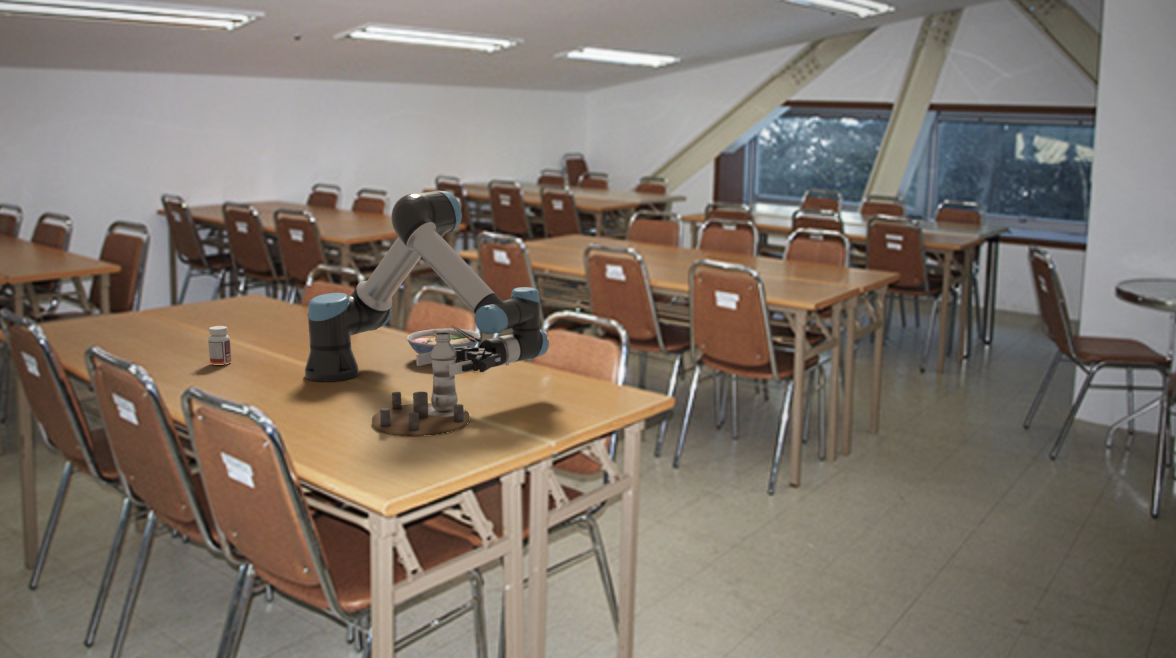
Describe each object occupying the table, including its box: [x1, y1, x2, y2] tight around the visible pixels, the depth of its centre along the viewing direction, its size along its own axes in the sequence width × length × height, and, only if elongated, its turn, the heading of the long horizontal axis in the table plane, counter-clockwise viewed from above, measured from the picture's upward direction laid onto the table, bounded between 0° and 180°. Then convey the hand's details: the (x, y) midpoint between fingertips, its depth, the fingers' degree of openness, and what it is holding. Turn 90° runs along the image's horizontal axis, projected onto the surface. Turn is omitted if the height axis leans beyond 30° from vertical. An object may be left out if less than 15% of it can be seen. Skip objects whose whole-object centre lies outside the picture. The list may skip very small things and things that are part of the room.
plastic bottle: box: [430, 332, 458, 411], centre depth 259 cm, size 6×7×20 cm
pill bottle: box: [207, 325, 232, 364], centre depth 310 cm, size 6×6×11 cm
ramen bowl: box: [406, 325, 482, 355], centre depth 317 cm, size 25×23×8 cm
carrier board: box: [371, 391, 470, 437], centre depth 255 cm, size 24×24×7 cm
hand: (433, 365), depth 256 cm, fingers open, 13 cm apart
